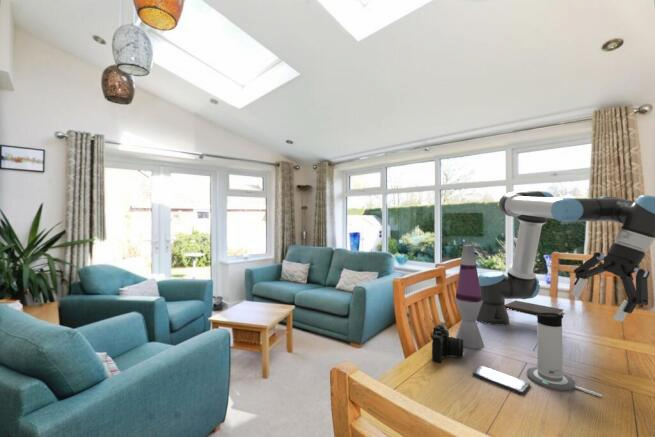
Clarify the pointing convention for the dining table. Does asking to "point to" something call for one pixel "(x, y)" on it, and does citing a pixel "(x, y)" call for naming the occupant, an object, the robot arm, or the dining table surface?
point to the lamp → (469, 300)
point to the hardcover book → (532, 308)
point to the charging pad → (563, 385)
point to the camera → (445, 344)
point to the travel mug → (550, 346)
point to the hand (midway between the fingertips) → (594, 307)
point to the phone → (502, 380)
